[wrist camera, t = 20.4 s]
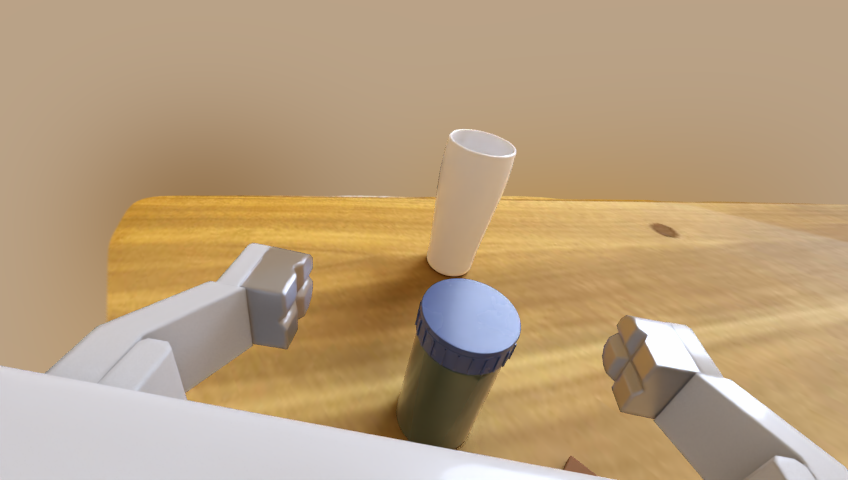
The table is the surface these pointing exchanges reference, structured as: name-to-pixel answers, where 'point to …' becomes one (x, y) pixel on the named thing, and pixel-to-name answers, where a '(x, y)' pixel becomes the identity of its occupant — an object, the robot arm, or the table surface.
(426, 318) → the lid
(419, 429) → the jar
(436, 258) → the drinking glass
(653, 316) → the table surface
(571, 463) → the coaster
